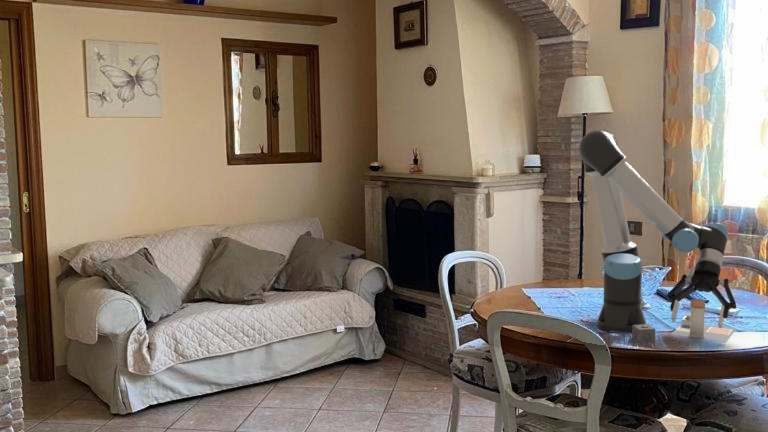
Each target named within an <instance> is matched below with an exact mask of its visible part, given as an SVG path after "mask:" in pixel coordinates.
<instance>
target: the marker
mask: <svg viewBox="0 0 768 432" xmlns="http://www.w3.org/2000/svg"><path fill="white" fill-rule="evenodd" d="M705 310H706V299H702V298H692V299H690V314H689V315H690V335H691V336H695V337H702V336H704V324H705V316H706V315H705Z"/></svg>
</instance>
